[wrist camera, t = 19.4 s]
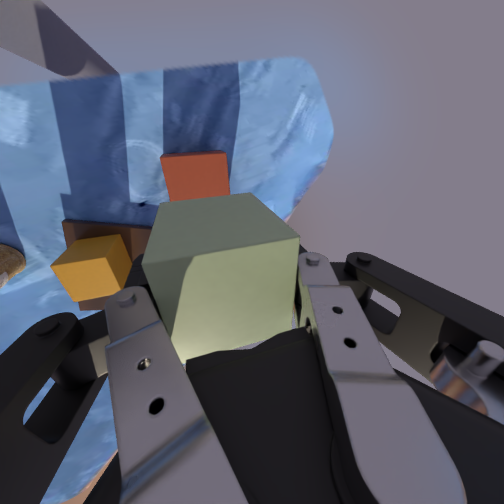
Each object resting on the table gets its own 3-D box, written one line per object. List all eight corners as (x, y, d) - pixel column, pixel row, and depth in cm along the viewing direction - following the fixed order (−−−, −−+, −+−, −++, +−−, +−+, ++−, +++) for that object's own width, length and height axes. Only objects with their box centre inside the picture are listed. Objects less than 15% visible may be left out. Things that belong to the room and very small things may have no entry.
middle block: (180, 278, 13) (179, 365, 8) (159, 202, 11) (140, 263, 6) (253, 263, 14) (291, 332, 9) (250, 192, 12) (301, 235, 7)
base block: (176, 210, 28) (175, 220, 25) (162, 153, 24) (159, 157, 21) (226, 204, 30) (231, 213, 26) (220, 150, 26) (226, 152, 23)
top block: (93, 272, 28) (73, 302, 23) (75, 239, 25) (49, 265, 20) (133, 265, 29) (122, 292, 24) (120, 233, 26) (105, 256, 21)
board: (82, 306, 31) (79, 310, 30) (65, 218, 25) (61, 221, 24) (203, 302, 37) (203, 306, 36) (213, 232, 31) (214, 234, 30)
